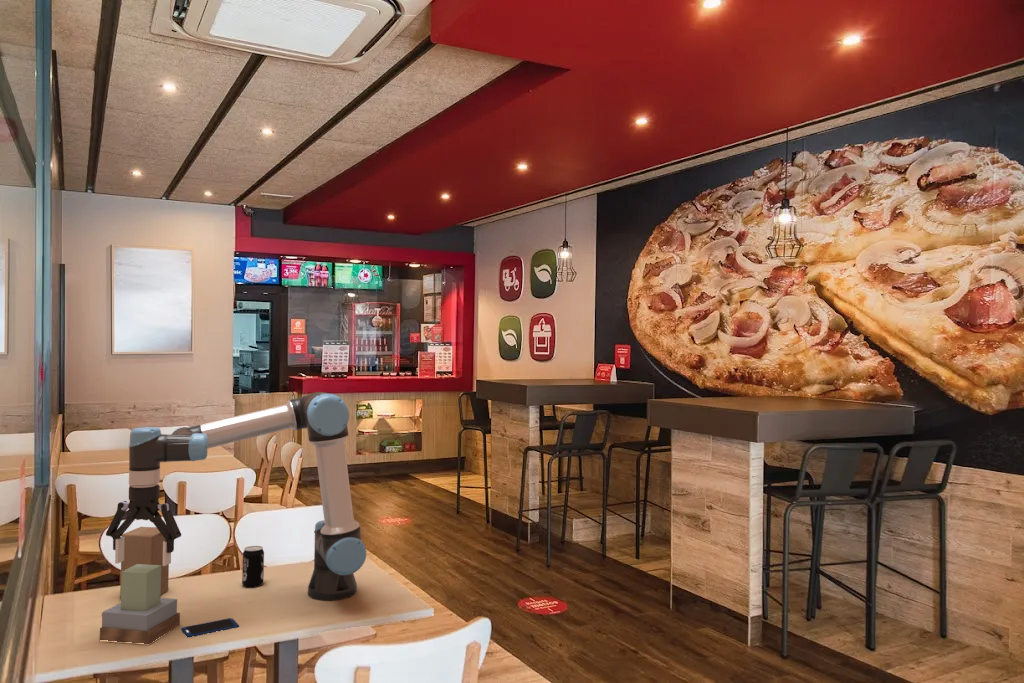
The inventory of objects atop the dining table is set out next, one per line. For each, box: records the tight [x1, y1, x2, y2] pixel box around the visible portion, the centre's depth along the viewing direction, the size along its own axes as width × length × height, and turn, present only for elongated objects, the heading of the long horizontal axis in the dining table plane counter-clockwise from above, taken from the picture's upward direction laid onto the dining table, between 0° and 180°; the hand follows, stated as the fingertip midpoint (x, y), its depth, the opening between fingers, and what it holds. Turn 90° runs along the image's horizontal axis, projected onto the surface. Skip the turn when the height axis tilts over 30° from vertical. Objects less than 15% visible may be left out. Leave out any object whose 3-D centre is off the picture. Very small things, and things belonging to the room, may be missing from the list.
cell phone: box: [180, 617, 240, 638], centre depth 206 cm, size 7×14×1 cm, turn 127°
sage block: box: [120, 564, 162, 611], centre depth 201 cm, size 7×7×10 cm
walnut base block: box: [99, 612, 181, 645], centre depth 201 cm, size 14×14×4 cm
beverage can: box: [241, 545, 265, 588], centre depth 243 cm, size 7×7×12 cm
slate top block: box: [101, 597, 178, 631], centre depth 202 cm, size 13×13×4 cm
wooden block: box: [119, 526, 170, 600], centre depth 231 cm, size 10×10×20 cm
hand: (143, 563), depth 202 cm, fingers open, 13 cm apart
